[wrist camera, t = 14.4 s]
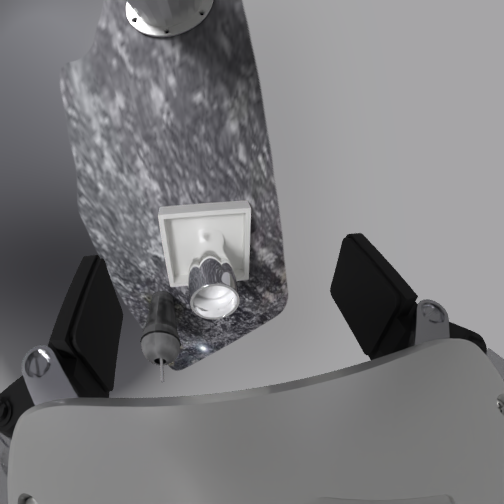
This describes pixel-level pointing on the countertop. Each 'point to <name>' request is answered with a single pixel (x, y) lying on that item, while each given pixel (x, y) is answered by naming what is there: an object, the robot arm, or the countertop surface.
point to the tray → (197, 217)
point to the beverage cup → (161, 331)
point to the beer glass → (211, 276)
